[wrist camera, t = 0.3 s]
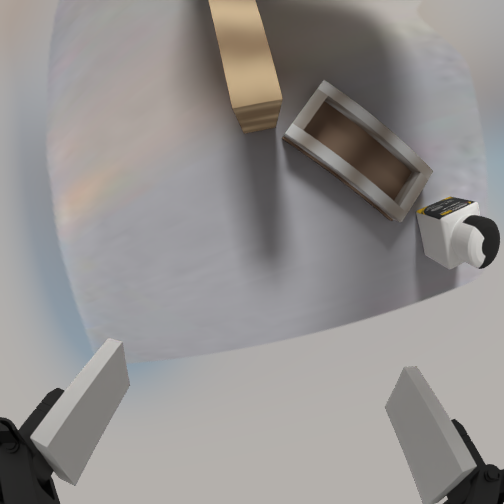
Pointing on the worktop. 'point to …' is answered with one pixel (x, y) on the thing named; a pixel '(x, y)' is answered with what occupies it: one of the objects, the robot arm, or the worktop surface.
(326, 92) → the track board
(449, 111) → the worktop surface
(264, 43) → the door slab
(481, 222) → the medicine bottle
